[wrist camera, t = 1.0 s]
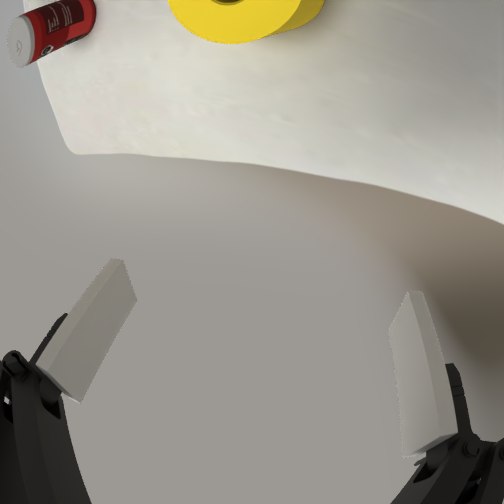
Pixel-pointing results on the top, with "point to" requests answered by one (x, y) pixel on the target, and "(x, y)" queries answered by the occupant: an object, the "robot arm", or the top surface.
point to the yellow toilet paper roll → (242, 17)
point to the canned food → (49, 29)
